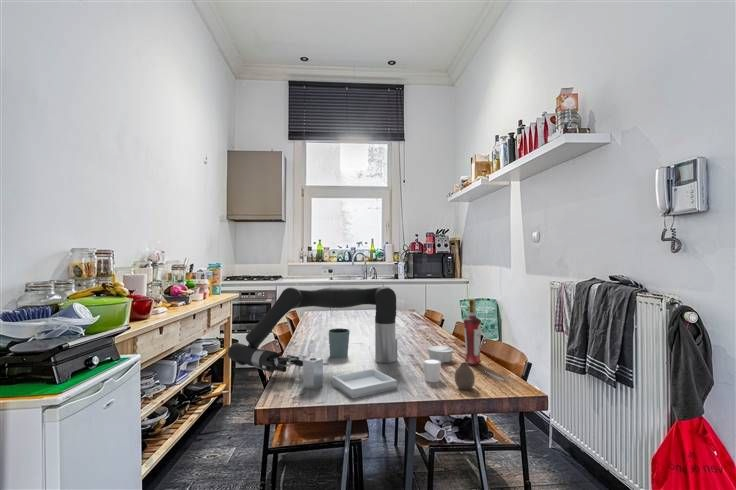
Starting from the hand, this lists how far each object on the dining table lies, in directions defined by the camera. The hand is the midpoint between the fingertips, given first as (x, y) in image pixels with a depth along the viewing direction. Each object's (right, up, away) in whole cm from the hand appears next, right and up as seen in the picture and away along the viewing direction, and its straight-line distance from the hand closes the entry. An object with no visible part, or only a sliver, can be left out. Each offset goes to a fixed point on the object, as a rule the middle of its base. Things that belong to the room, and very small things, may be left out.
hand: (294, 366), depth 139 cm
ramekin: (+61, -7, +29) cm, 68 cm away
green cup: (+14, -7, +37) cm, 40 cm away
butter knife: (+75, -7, +14) cm, 76 cm away
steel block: (+8, -6, -6) cm, 11 cm away
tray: (+26, -6, -5) cm, 27 cm away
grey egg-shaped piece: (+62, -6, -8) cm, 63 cm away
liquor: (+74, -7, +22) cm, 77 cm away
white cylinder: (+52, -6, +2) cm, 53 cm away
